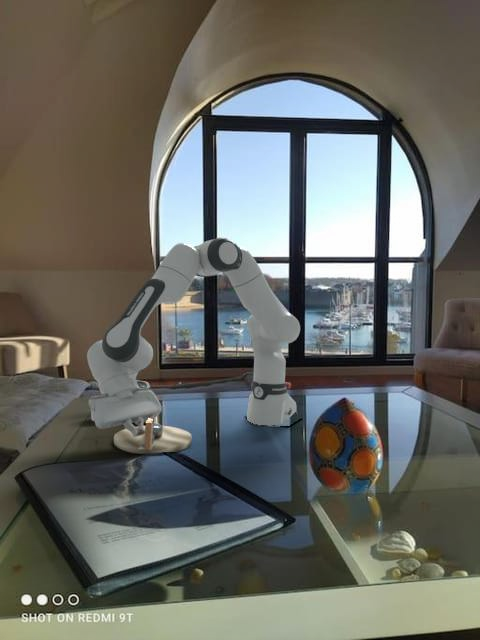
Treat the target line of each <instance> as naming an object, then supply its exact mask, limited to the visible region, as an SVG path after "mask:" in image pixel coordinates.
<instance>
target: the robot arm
mask: <svg viewBox="0 0 480 640" xmlns="http://www.w3.org/2000/svg"><path fill="white" fill-rule="evenodd" d="M222 273H224V274H225V276H227V278H228V280H229V282H230V284H231V286H232V287H233V290H234V291H235V294H236V295H237V297H238V299H239V301H240V303H241V305H242V306H243V307H244V308H245V309H246V310H247V311H248V312H249V313H250V314H251V315H249V317H248V318H247V321H246V329H247V332H248V333H249V335H250V339H251V344H252V352H253V362H254V363H253V380H251V385H250V386H251V393H250V394H249V395H248V396H249V398H248V404H247V409H246V410H247V411H246V413H247V420H248V421H249V422H248V421H247V420H246V421H247V422H248V423H250V422H251V423H250V424H252V423H253V425H256V424H257V426H261V425H268V426H267V427H271V426H270V425H278V424H283V425H286V424H287V423H285V421H286V420H287V419H288V418H289V417H291V416H292V415H293V414H294V413H295V412H296V413H297V403H296V401H295V400H294V399H293V398H292V397H291V396H290V394H289V393H288V389H291V387H292V383H291V382H288V381H287V382H286V366H287V365H286V363H287V361H286V357H284V355H283V354H284V353H283V351H282V348H281V345H287V344H291V343H293V342H294V341H297V338H298V337H299V335H300V332H301V325H300V321H299V320H298V319H297V318H296V316H294V315H293V314H292V313H290V312H289V311H288V310H287V308H286V307H285V305H284V304H283V303H282V302H281V301H280V300H279V298H278V297H277V296H276V295H275V293H274V291H273V290H272V288H271V286H270V285H269V283H268V281H267V279H266V277H265V275H264V273H263V272H262V270H261V268H260V266H259V264H258V263H257V261H256V259H255V258H254V257H253V256H252V254H251V253H250V251H249V250H248V249H247V248H245V247H242V246H240V247H239V246H238V245H237V244H236V242H235V241H233V240H232V239H230V238H227V237H216V238H214V239H210V240H206V241H204V242H203V243H201V244H198V245H195V246H193V245H191V244H188V243H184V242H179V243H177V244H175V245H173V247H172V248H171V249H170V250H169V251H168V252H167V254H166V255H165V257H164V258H163V260H162V261H161V262H160V264H159V266H158V268H157V270H156V271H155V273H154V274H153V276H152V277H151V278H150V279H149V280H147V281H146V282H145V283H144V284H143V285H142V286H141V288H140V289H139V290H138V291H137V293H136V295H134V297H133V299H132V300H131V302H130V304H129V305H127V308H126V309H125V310H124V312H123V313H122V314H121V316H120V317H119V319H117V320H116V321H115V322H114V323H113V324H112V325H111V326H110V327H108V329H107V330H106V331H105V333H104V335H103V336H102V337H103V338H102V339H101V340H98V341H96V342H95V343H93V344H92V345H90V347H89V349H88V351H87V353H86V359H87V364H88V366H89V369H90V371H91V374H92V377H93V378H94V380H95V381H96V382H97V383H98V389H99V391H100V393H101V394H98V395H92V396H91V397H89V399H88V401H87V402H88V406H89V407H90V410H91V409H92V414H93V418H94V421H93V422H94V424H95V426H96V427H97V428H99V429H100V430H104V429H108V428H109V429H110V428H113V427H114V428H115V427H117V426H124V429H128V430H129V431H130V432H131V433H132V435H133V437H136V436H140V435H143V434H144V433H145V430H144V428H143V426H144V424H145V423H144V420H146V419H148V418H149V419H150V418H152V419H155V418H157V417H158V416H159V415H160V414H161V413H162V408H163V407H162V405H161V404H162V403H160V401H159V399H158V397H157V395H156V393H155V392H154V391H153V390H151V389H150V388H151V386H150V383H149V382H148V381H144V380H139V379H137V378H136V379H133V378H130V377H129V375H131V374H134V373H136V372H138V371H139V372H141V371H142V370H145V369H146V368H148V367H149V366H150V365H151V363H152V362H153V360H154V349H153V346H152V345H151V344H150V343H149V342H148V340H147V339H145V337H143V336H142V335H141V333H142V328H143V326H144V325H145V323H146V321H147V320H148V319H149V317H150V316H151V314H152V313H153V312H154V310H155V308H156V307H157V306H159V305H160V304H165V305H174V304H176V303H179V302H181V301H182V300H183V298H184V297H185V296H186V294H187V293H188V291H189V289H190V287H191V285H192V283H193V281H194V279H195V277H201V278H206V277H212V276H217V275H220V274H222ZM139 372H138V373H139ZM133 423H134V424H135V425H134V424H133ZM136 425H137V426H138V428H136V427H137V426H136Z"/></svg>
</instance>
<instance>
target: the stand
mask: <svg viewBox="0 0 480 640" xmlns="http://www.w3.org/2000/svg"><path fill="white" fill-rule="evenodd" d="M145 426H146V425H143V428H144V430H145ZM162 426H163V433H162V436H160V437H155V439H154V442H153V444H152V446H151V448H150V449H145V433H144V434H143V435H140V436H136V437H133V435H132V433H131V432H130V431H129V430H128V429H126V428H124V429H122V430H119V431H118V432H116V433H115V434H114V436H113V444H114V446H115V447H116V448H117V449H120V450H122V451H124V452H128V453H132V454H139V455H149V454H148V453H155V452H173V453H177V452H181V451H184V450H185V449H188V448H189V447H190V446H191V445H192V440H193V438H192V434H191V432H189V431H187V430H184V429H182V428H179V427H174V426H169V425H162ZM135 427H136V428H138V425H137V426H135Z"/></svg>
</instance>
